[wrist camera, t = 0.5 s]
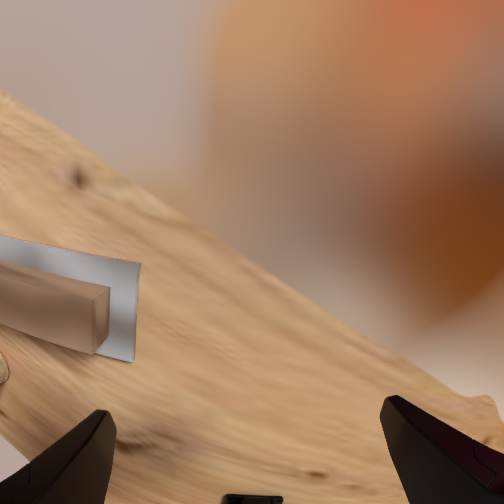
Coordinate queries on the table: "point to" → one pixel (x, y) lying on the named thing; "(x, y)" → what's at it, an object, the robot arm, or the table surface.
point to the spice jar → (3, 369)
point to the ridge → (69, 297)
